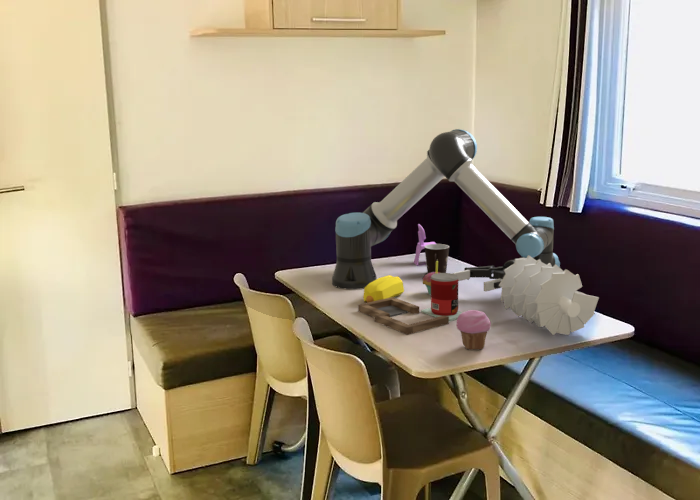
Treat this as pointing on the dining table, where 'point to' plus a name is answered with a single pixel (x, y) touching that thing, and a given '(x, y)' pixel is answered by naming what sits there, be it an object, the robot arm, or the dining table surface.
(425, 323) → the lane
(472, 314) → the cupcake
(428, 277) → the cupcake
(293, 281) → the dining table surface
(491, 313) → the dining table surface
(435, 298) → the canned food
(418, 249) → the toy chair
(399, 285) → the yellow faceted block
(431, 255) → the coffee mug
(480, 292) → the dining table surface
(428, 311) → the pad
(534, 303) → the spiral staircase
